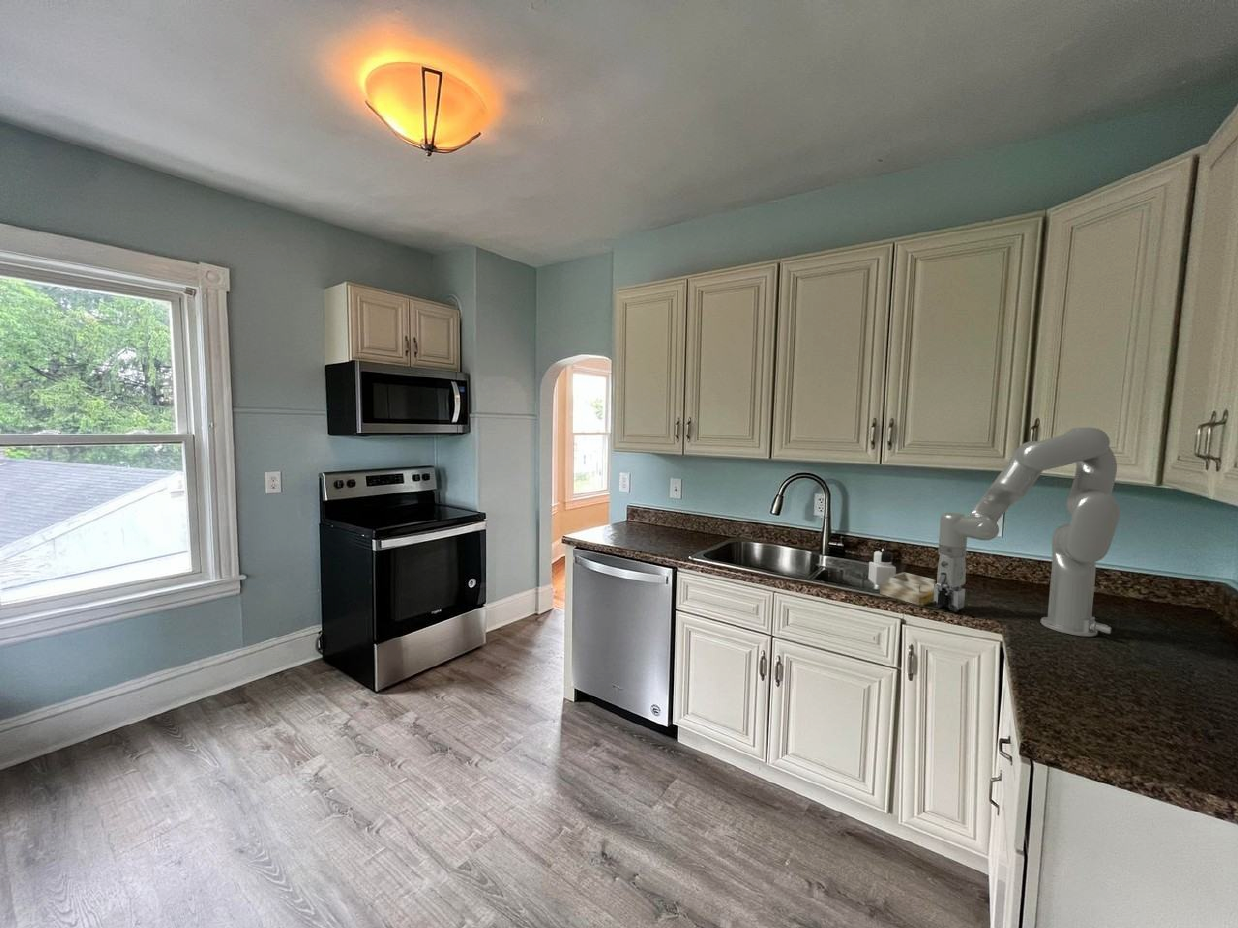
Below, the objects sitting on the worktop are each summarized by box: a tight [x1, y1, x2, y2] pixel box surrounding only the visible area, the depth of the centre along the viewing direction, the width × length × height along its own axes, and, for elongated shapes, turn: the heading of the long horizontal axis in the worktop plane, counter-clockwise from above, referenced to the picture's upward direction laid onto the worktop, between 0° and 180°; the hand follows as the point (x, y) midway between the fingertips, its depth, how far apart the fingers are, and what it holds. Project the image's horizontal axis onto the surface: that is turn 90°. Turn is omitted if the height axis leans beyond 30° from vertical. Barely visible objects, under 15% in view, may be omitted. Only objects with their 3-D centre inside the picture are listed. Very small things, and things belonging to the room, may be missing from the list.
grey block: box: [933, 584, 966, 613], centre depth 163 cm, size 7×5×7 cm
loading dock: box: [879, 571, 937, 607], centre depth 176 cm, size 14×20×6 cm
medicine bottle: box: [868, 550, 897, 586], centre depth 190 cm, size 7×7×12 cm
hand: (948, 603), depth 163 cm, fingers open, 7 cm apart
